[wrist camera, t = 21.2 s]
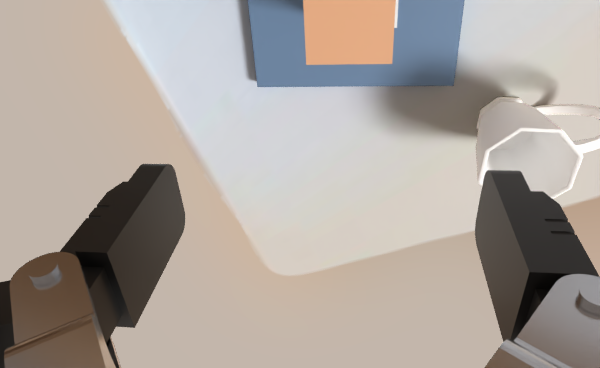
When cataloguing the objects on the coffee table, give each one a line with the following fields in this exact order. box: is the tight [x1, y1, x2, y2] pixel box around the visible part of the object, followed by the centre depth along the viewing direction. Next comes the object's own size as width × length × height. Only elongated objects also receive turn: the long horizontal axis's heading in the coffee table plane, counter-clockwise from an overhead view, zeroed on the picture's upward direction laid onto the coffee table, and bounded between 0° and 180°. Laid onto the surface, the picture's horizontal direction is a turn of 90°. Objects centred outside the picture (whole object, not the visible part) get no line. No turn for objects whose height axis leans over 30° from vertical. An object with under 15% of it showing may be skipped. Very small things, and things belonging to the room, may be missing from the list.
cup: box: [476, 97, 600, 199], centre depth 37 cm, size 7×10×8 cm
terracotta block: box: [303, 0, 396, 65], centre depth 29 cm, size 5×5×5 cm
